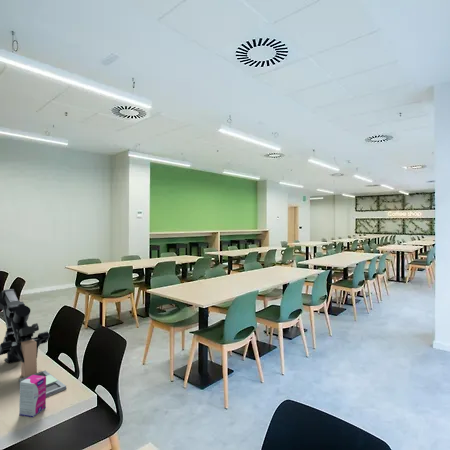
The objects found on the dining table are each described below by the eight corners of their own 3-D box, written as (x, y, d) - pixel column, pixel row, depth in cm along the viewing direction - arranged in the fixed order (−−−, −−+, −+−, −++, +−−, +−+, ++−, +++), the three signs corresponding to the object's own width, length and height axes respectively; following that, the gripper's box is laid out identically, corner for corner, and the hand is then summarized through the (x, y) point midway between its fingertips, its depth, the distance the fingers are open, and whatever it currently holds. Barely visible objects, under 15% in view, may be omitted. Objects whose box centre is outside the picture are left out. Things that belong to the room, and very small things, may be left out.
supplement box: (33, 418, 106) (33, 384, 106) (18, 415, 107) (18, 382, 107) (46, 408, 112) (46, 375, 112) (32, 406, 113) (32, 374, 113)
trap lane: (19, 382, 130) (19, 378, 130) (45, 373, 138) (45, 369, 138) (38, 399, 117) (38, 396, 117) (66, 388, 124) (66, 385, 124)
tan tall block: (21, 374, 136) (21, 342, 136) (32, 371, 139) (32, 339, 139) (25, 378, 133) (24, 345, 133) (36, 374, 137) (36, 341, 136)
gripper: (0, 324, 131) (8, 357, 124) (48, 313, 146) (58, 343, 139) (-6, 338, 137) (2, 371, 130) (41, 327, 151) (51, 356, 144)
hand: (30, 360), depth 135 cm, fingers closed on tan tall block, 4 cm apart
